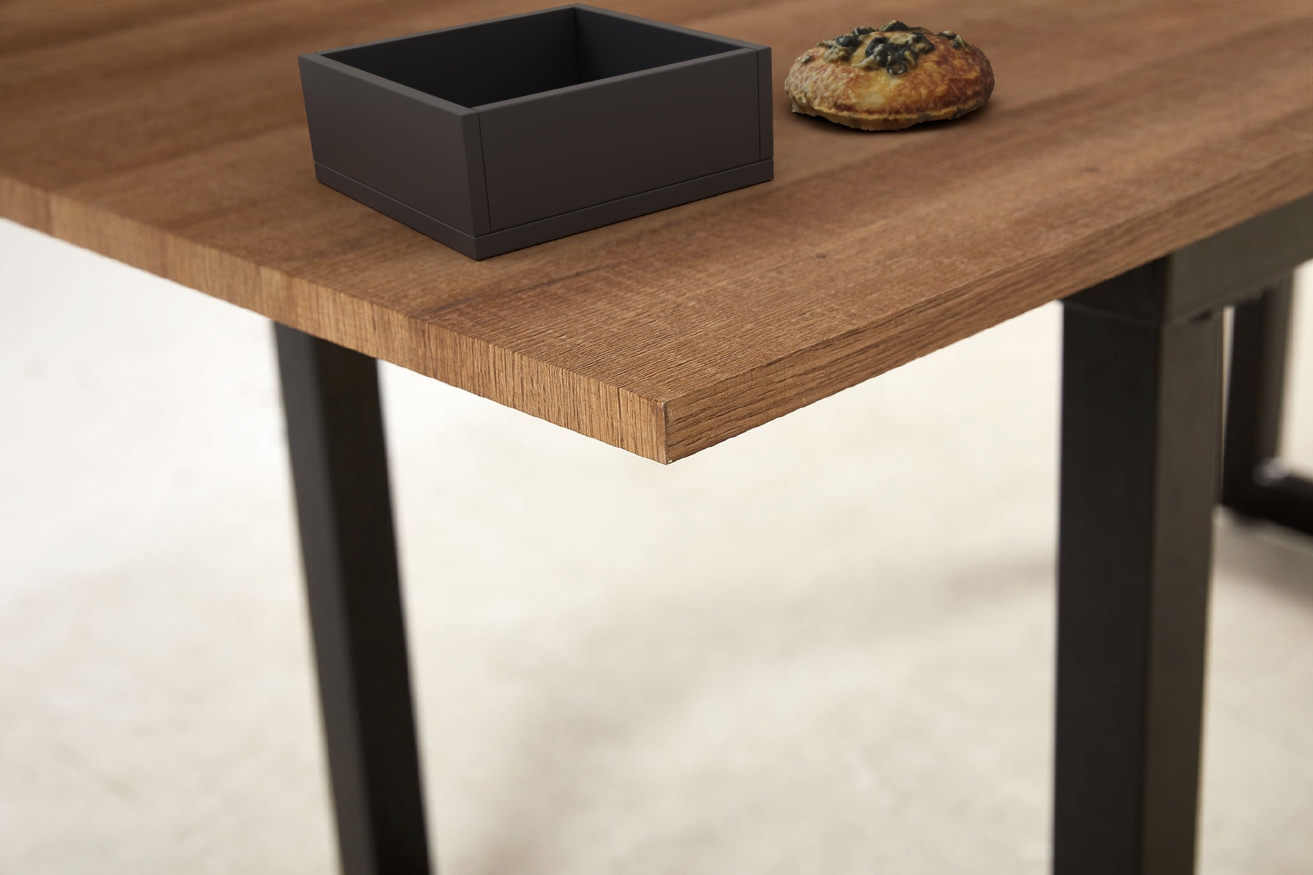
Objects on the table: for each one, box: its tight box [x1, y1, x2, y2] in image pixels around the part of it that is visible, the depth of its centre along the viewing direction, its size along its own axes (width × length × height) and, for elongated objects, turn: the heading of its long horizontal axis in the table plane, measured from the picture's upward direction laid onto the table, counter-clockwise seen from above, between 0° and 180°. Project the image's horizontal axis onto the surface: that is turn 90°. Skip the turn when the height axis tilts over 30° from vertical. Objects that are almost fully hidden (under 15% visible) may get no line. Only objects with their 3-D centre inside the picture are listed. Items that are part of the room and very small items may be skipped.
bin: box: [297, 2, 775, 261], centre depth 71 cm, size 16×16×6 cm
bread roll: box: [783, 19, 996, 132], centre depth 80 cm, size 11×11×5 cm
